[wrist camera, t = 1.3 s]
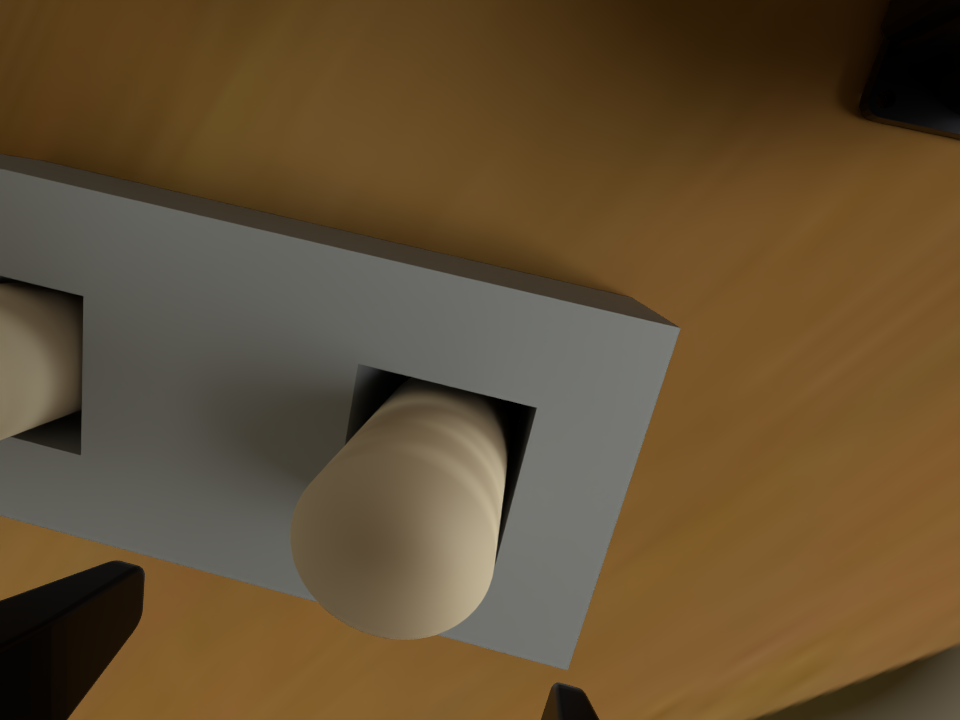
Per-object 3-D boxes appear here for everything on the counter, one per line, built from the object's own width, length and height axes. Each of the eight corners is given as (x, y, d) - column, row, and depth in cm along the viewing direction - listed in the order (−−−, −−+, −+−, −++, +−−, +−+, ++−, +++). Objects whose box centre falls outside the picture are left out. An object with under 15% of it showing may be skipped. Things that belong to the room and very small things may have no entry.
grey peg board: (632, 297, 17) (680, 328, 12) (558, 544, 20) (567, 670, 14) (41, 160, 18) (-185, 125, 13) (43, 410, 21) (-145, 476, 15)
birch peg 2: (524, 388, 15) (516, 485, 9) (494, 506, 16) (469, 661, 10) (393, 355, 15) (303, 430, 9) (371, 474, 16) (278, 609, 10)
